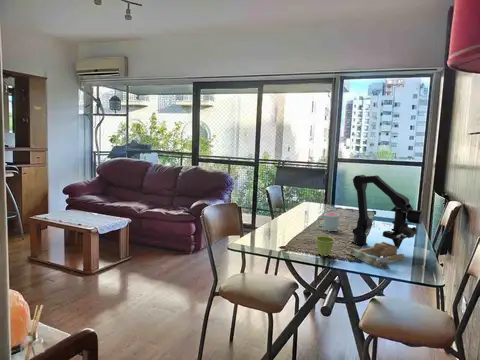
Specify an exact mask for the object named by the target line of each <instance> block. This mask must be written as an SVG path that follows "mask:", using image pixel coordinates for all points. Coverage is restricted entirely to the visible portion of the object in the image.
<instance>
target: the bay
mask: <svg viewBox="0 0 480 360" xmlns="http://www.w3.org/2000/svg"><path fill="white" fill-rule="evenodd" d="M373 252H374V246H371V247H366V248H359V249H356V248H354V247H352V248H351V247H350V254H351V255H353V256H355V257H357V258H359V259H360V260H359V259H358V260H359V261H361V260H362V261H361V262H363V261H364V263H366V264H368V265H371V266H372V267H377V265H378V264H380V257H379V258H377V257H376V256H374V255H371V254H373ZM404 258H405V254H404V253H397V255H393V256H388V258H387V264H388V263H393V262H398V261H401V260H404Z"/></svg>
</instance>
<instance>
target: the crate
mask: <svg viewBox="0 0 480 360" xmlns="http://www.w3.org/2000/svg"><path fill="white" fill-rule="evenodd" d="M373 247H374V252H373V253H372V255H373V256H375V257H376V256H377V257H379V258H380V256H383V253H385V256H387V257H388V256H393V255H397V254H398V249H397V247H396V246H395V245H394V244H391V243H388V242H385V241H381V242H379V243H378V242H375V244H373Z"/></svg>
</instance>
